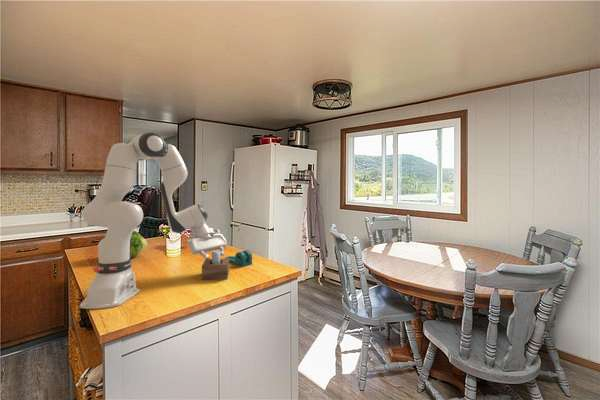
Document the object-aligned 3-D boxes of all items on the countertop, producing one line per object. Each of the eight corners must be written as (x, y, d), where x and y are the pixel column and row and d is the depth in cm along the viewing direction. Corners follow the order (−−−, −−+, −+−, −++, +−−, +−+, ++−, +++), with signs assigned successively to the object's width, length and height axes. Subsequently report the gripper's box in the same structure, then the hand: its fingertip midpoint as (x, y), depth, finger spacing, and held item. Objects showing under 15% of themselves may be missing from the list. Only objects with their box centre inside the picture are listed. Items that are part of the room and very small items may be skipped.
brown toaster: (227, 279, 145) (227, 265, 145) (201, 280, 143) (201, 265, 143) (229, 271, 157) (229, 258, 156) (205, 272, 155) (205, 259, 155)
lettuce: (152, 258, 183) (153, 228, 186) (111, 260, 165) (113, 228, 167) (137, 257, 195) (138, 229, 197) (96, 260, 176) (98, 229, 178)
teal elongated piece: (252, 264, 171) (252, 251, 170) (243, 267, 166) (243, 253, 165) (231, 259, 182) (231, 246, 181) (222, 261, 177) (222, 248, 176)
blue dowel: (219, 276, 148) (219, 253, 148) (211, 277, 148) (211, 253, 147) (220, 274, 152) (220, 251, 151) (212, 274, 152) (212, 251, 151)
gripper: (187, 234, 145) (200, 257, 140) (221, 229, 161) (233, 249, 156) (182, 242, 148) (194, 264, 143) (216, 236, 164) (228, 256, 159)
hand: (215, 256), depth 150 cm, fingers open, 8 cm apart
